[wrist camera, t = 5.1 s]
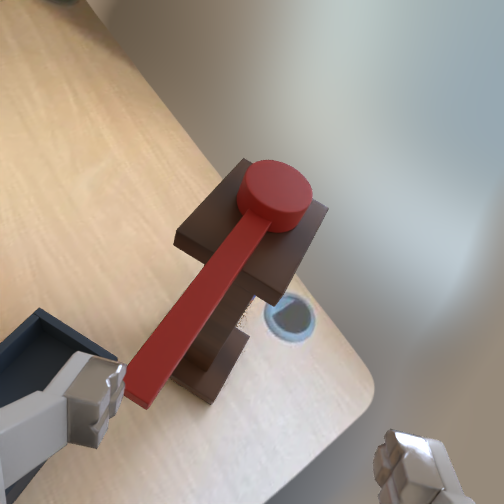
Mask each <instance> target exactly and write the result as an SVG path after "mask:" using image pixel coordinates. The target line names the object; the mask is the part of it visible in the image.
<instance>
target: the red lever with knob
mask: <svg viewBox="0 0 504 504" xmlns="http://www.w3.org/2000/svg"><path fill="white" fill-rule="evenodd" d="M312 197H313V193H312V188H311V186H310V184H309V182H308V181H307V179H306V178H305V177H304V176H303V175H302V174H301V173H300V172H299V171H298V170H296V169H295V168H293V167H291V166H289V165H287V164H285V163H282V162H279V161H274V160H261V161H257V162H255V163H253V164H252V165H250V166H249V167H248V169H247V170H246V172H245V175H244V177H243V180H242V183H241V185H240V188H239V191H238V193H237V205H238V208H239V210H240V212H241V214H242V215H243V217H242V218H241V219H240V221H239V222H238V223H237V224H236V226H235V227H234V228H233V230H232V231H231V232H230V233H229V235H228V236H227V237H226V239H225V240H224V241H223V243H222V244H221V245H220V246H219V248H218V249H217V250H216V252H215V253H214V254H213V256H212V257H211V258H210V259H209V261H208V262H207V263H206V265H205V266H204V267H203V268H202V270H201V271H200V272H199V274H198V275H197V276H196V278H195V279H194V280H193V281H192V283H191V284H190V285H189V287H188V288H187V289H186V290H185V292H184V293H183V294H182V296H181V297H180V298H179V300H178V301H177V302H176V303H175V305H174V306H173V307H172V309H171V310H170V311H169V313H168V314H167V315H166V316H165V318H164V319H163V320H162V322H161V323H160V324H159V325H158V327H157V328H156V329H155V331H154V332H153V333H152V335H151V336H150V337H149V338H148V340H147V341H146V342H145V344H144V345H143V346H142V348H141V349H140V350H139V351H138V353H137V354H136V355H135V357H134V358H133V359H132V360H131V362H130V363H129V364H128V366H127V370H126V375H125V376H124V378H123V381H124V382H125V391H124V396H126V397H127V398H129V399H130V400H132V401H133V402H135V403H136V404H138V405H139V406H141V407H143V408H144V409H146V410H147V409H148V408H149V407H150V405H151V404H152V402H153V401H154V399H155V398H156V396H157V395H158V393H159V392H160V390H161V389H162V387H163V386H164V384H165V383H166V382H167V380H168V379H169V377H170V376H171V374H172V373H173V371H174V370H175V368H176V367H177V365H178V364H179V362H180V361H181V359H182V358H183V356H184V355H185V353H186V352H187V350H188V349H189V347H190V346H191V344H192V343H193V341H194V340H195V338H196V337H197V335H198V334H199V332H200V331H201V329H202V328H203V326H204V325H205V323H206V322H207V320H208V319H209V317H210V316H211V314H212V313H213V311H214V310H215V308H216V307H217V305H218V304H219V302H220V301H221V299H222V298H223V296H224V295H225V293H226V292H227V290H228V289H229V287H230V286H231V284H232V283H233V281H234V280H235V278H236V277H237V275H238V274H239V272H240V271H241V269H242V268H243V266H244V265H245V263H246V262H247V260H248V259H249V257H250V256H251V255H252V253H253V252H254V250H255V249H256V247H257V246H258V244H259V243H260V241H261V240H262V238H263V237H264V235H265V234H266V232H267V231H268V232H273V233H282V232H287V231H289V230H292V229H293V228H295V227H296V226H297V225H298V223H299V222H300V220H301V218H302V217H303V215H304V214H305V212H306V210H307V209H308V207H309V206H310V204H311V202H312Z"/></svg>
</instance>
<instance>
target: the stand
mask: <svg viewBox="0 0 504 504" xmlns="http://www.w3.org/2000/svg"><path fill="white" fill-rule="evenodd" d="M252 164H253V163H251V162H249V161H248V160H246V159H244V158H243V159H242V160H241V161H240V162H239V163H238V164H237V165H236V167H235V168H234V169H233V170H232V171H231V172H230V173H229V174H228V175H227V176H226V177H225V178H224V179H223V180H222V182H221V183H220V184H219V185H218V186H217V187H216V188H215V189H214V190H213V191H212V192H211V193H210V194H209V195H208V197H207V198H206V199H205V200H204V201H203V202H202V203H201V204H200V205H199V206H198V207H197V208H196V209H195V210H194V212H193V213H192V214H191V215H190V216H189V217H188V218H187V219H186V220H185V221H184V222H183V223H182V224H181V225H180V227H179V228H178V229H177V230H176V234H175V239H174V243H173V245H174V246H175V247H177V248H179V249H180V250H182V251H184V252H185V253H187V254H188V255H190V256H192V257H193V258H195V259H197V260H198V261H200V262H201V263H203V264H204V266H205V265H206V263H207V262H208V261H209V259H210V258H211V257H212V256H213V254H214V253H215V252H216V250H217V249H218V248H219V246H220V245H221V244H222V243H223V241H224V240H225V239H226V237H227V236H228V235H229V233H230V232H231V231H232V230H233V228H234V227H235V226H236V224H237V223H238V222H239V221H240V219H241V218H242V217H243V215H242V214H241V212H240V210H239V208H238V205H237V193H238V191H239V188H240V185H241V183H242V180H243V177H244V175H245V172H246V170H247V169H248V167H249V166H250V165H252ZM327 211H328V207H326V206H325V205H323V204H321V203H319V202H318V201H316V200H314V199H313V198H312V202H311V204H310V206H309V207H308V209H307V210H306V212H305V214H304V215H303V217H302V218H301V220H300V222H299V223H298V225H297V226H296V227H295V228H293V229H292V230H289V231H287V232H282V233H273V232H268V231H267V232H266V234H265V235H264V237H263V238H262V240H261V241H260V243H259V244H258V246H257V247H256V249H255V250H254V252H253V253H252V255H251V256H250V257H249V259H248V260H247V262H246V263H245V265H244V266H243V268H242V269H241V271H240V272H239V274H238V275H237V277H236V278H235V280H234V281H233V283H232V284H231V286H230V287H229V289H228V290H227V292H226V293H225V295H224V296H223V298H222V299H221V301H220V302H219V304H218V305H217V307H216V308H215V310H214V311H213V313H212V314H211V316H210V317H209V319H208V320H207V322H206V323H205V325H204V326H203V328H202V329H201V331H200V332H199V334H198V335H197V337H196V338H195V340H194V341H193V343H192V344H191V346H190V347H189V349H188V350H187V352H186V353H185V355H184V356H183V358H182V359H181V361H180V362H179V364H178V365H177V367H176V368H175V370H174V371H173V373H172V374H171V376H170V377H169V379H171V380H173V381H174V382H176V383H177V384H179V385H180V386H182V387H184V388H185V389H187V390H188V391H190V392H191V393H193V394H194V395H196V396H198V397H199V398H201V399H202V400H204V401H205V402H207V403H209V404H210V405H211V404H212V403H213V402H214V401H215V399H216V397H217V395H218V393H219V392H220V390H221V388H222V386H223V384H224V383H225V381H226V379H227V377H228V375H229V374H230V372H231V370H232V368H233V366H234V364H235V363H236V361H237V359H238V357H239V355H240V354H241V352H242V350H243V348H244V346H245V345H246V343H247V341H248V339H249V337H250V336H248V335H247V334H245V333H244V332H242V331H240V330H239V329H237V328H236V327H235V326H236V324H237V323H238V321H239V319H240V318H241V316H242V315H243V313H244V311H245V310H246V308H247V306H248V305H249V303H250V302H251V300H252V298H253V297H254V295H255V296H257V297H259V298H260V299H262V300H264V301H265V302H267V303H268V304H270V305H272V306H274V307H275V306H276V304H277V303H278V302H279V300H280V299H281V298H282V296H283V295H284V293H285V291H286V289H287V287H288V285H289V284H290V282H291V280H292V278H293V276H294V274H295V272H296V270H297V268H298V266H299V265H300V263H301V261H302V259H303V257H304V255H305V253H306V251H307V249H308V247H309V246H310V244H311V242H312V240H313V238H314V236H315V234H316V232H317V230H318V228H319V227H320V225H321V223H322V221H323V219H324V217H325V215H326V213H327Z"/></svg>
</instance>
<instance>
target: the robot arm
mask: <svg viewBox="0 0 504 504" xmlns="http://www.w3.org/2000/svg"><path fill="white" fill-rule="evenodd" d="M126 370H127V365H126V364H124V363H121V362H117V361H114V360H110V359H106V358H103V357H99V356H95V355H91V354H87V353H83V352H80V351H77V352H76V353H74V354H73V355H72V356H71V357H70V358H69V360H68V361H67V362H66V363H65V365H64V366H63V367H62V368H61V370H60V371H59V372H58V373H57V375H56V376H55V377H54V378H53V379H52V381H51V382H50V383H49V384H48V386H47V387H46V388H45V389H44V391H43V392H42V391H36V392H34V393H31V394H29V395H27V396H25V397H23V398H21V399H19V400H17V401H15V402H12V403H10V404H8V405H6V406H4V407H2V408H0V504H6V496H5V489H7V488H8V487H9V486H11V485H12V484H14V483H15V482H16V481H18V480H19V479H20V478H22V477H23V476H25V475H26V474H27V473H29V472H30V471H31V470H33V469H34V468H36V467H37V466H38V465H40V464H41V463H42V462H44V461H45V460H47V459H48V458H49V457H51V456H52V455H53V454H55V453H56V452H58V451H59V450H60V449H62V448H63V447H64V446H66V445H67V443H72V444H76V445H81V446H86V447H90V448H95V449H97V448H98V446H99V444H100V443H101V441H102V439H103V437H104V435H105V433H106V431H107V430H108V423H109V419H110V418H112V417H113V416H115V414H116V413H117V411H118V409H119V407H120V404H121V401H122V399H123V395H124V391H125V382H124V381H123V378H124V376H125V375H126ZM384 439H385V443H384V444H382V445H380V446H378V448H377V450H376V452H375V454H374V460H373V473H374V478H375V481H376V482H377V483H378V485H379V486H380V487H381V490H380V492H379V494H378V499H379V503H380V504H476V503H475V502H474V501H473V500H472V499H471V498H470V497H466V496H465V495H464V493H463V490H462V488H461V485H460V483H459V481H458V478H457V476H456V473H455V471H454V468H453V466H452V463H451V461H450V459H449V456H448V454H447V451H446V449H445V447H444V444H443V443H442V442H441V441H438V440H435V439H431V438H427V437H422V436H418V435H414V434H410V433H406V432H401V431H397V430H393V429H390V430H388V431H387V432H386V434H385V436H384Z"/></svg>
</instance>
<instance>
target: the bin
mask: <svg viewBox="0 0 504 504" xmlns="http://www.w3.org/2000/svg"><path fill="white" fill-rule="evenodd" d="M77 351H80V352H83V353H87V354H91V355H95V356H99V357H103V358H106V359H110V360H114V361H117V357H116V356H114V355H113V354H111V353H110V352H108V351H107V350H105V349H103V348H102V347H100V346H99V345H97V344H96V343H94V342H93V341H91V340H89V339H88V338H86V337H85V336H83V335H82V334H80V333H78V332H77V331H75V330H74V329H72V328H71V327H69V326H68V325H66V324H64V323H63V322H61V321H60V320H58V319H57V318H55V317H53V316H52V315H50V314H49V313H47V312H46V311H44V310H43V309H41V308H38V309H37V310H36V311H35V312H34V313H33V314H32V315H31V316H30V317H29V318H27V319H26V320H25V321H24V322H23V323H22V324H21V325H20V326H19V327H18V328H17V329H16V330H14V331H13V332H12V333H11V334H10V335H9V336H8V337H7V338H6V339H5V340H4V341H3V342H1V343H0V408H2V407H4V406H6V405H8V404H10V403H12V402H15V401H17V400H19V399H21V398H23V397H25V396H27V395H29V394H31V393H34V392H36V391H42V392H43V391H44V389H45V388H46V387H47V386H48V384H49V383H50V382H51V381H52V379H53V378H54V377H55V376H56V375H57V373H58V372H59V371H60V370H61V368H62V367H63V366H64V365H65V363H66V362H67V361H68V360H69V358H70V357H71V356H72V355H73V354H74V353H76V352H77ZM46 461H47V460H45V461H44V462H42V463H41V464H40V465H38V466H37V467H36V468H34V469H33V470H31V471H30V472H29V473H27V474H26V475H25V476H23V477H22V478H20V479H19V480H18V481H16V482H15V483H14V484H12V485H11V486H9V487H8V488H7V489H5V496H6V504H13V503H14V501H15V500H16V499H17V498H18V496H19V495H20V494H21V493H22V491H23V490H24V489H25V487H26V486H27V485H28V484H29V482H30V481H31V480H32V479H33V477H34V476H35V475H36V473H37V472H38V471H39V470H40V468H41V467H42V466H43V465H44V463H45V462H46Z"/></svg>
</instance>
